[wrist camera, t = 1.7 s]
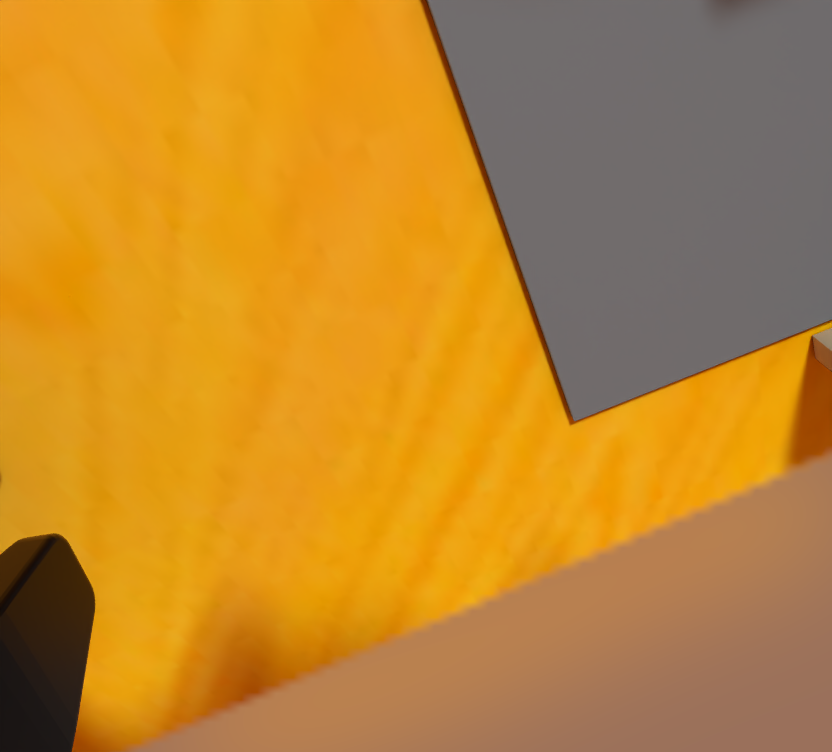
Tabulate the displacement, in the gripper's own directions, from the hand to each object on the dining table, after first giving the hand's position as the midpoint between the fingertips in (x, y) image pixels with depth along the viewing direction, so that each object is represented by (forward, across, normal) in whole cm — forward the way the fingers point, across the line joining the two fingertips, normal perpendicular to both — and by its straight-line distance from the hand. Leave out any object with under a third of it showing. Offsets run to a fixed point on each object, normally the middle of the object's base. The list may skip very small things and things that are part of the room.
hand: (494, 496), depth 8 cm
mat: (+13, -8, +1) cm, 15 cm away
